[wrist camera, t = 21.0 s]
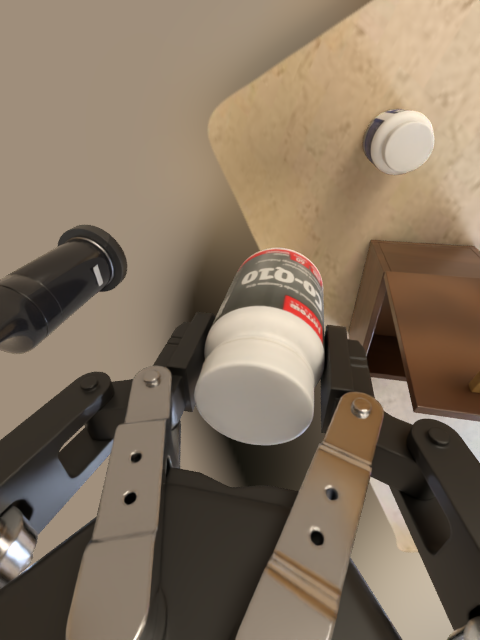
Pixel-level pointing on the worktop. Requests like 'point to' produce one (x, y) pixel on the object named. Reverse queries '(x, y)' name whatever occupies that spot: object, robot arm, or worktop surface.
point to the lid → (438, 341)
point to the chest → (373, 303)
